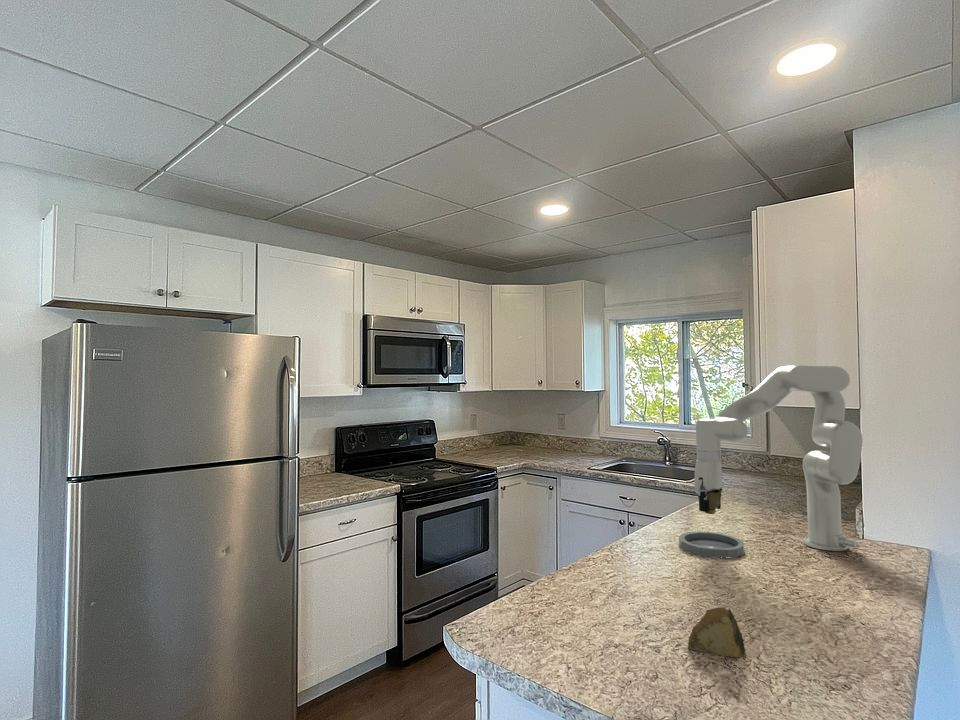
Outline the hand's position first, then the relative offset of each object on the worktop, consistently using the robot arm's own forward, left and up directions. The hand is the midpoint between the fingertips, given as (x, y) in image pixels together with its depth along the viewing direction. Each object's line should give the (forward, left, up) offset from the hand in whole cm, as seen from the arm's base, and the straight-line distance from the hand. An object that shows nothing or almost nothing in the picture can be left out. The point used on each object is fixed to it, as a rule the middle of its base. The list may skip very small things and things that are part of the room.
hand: (710, 509), depth 175 cm
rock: (-36, +61, -13) cm, 72 cm away
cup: (0, 0, -2) cm, 2 cm away
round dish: (0, 0, -13) cm, 13 cm away
